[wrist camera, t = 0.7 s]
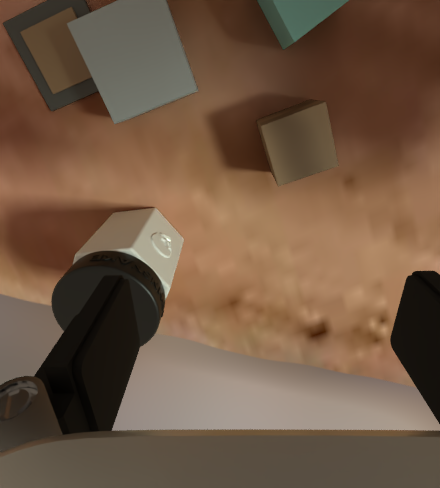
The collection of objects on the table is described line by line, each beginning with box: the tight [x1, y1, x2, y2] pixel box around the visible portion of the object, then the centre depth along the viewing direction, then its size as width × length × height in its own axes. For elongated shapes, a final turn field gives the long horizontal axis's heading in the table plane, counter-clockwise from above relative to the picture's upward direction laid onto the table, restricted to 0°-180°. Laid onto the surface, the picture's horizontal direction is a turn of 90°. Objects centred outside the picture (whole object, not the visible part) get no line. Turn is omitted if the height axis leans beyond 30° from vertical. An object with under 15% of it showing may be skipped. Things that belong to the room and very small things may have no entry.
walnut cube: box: [256, 100, 339, 186], centre depth 27 cm, size 5×5×5 cm
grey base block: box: [67, 0, 199, 124], centre depth 25 cm, size 7×7×4 cm
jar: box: [52, 208, 184, 346], centre depth 29 cm, size 9×8×12 cm
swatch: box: [3, 0, 99, 111], centre depth 26 cm, size 7×7×1 cm
